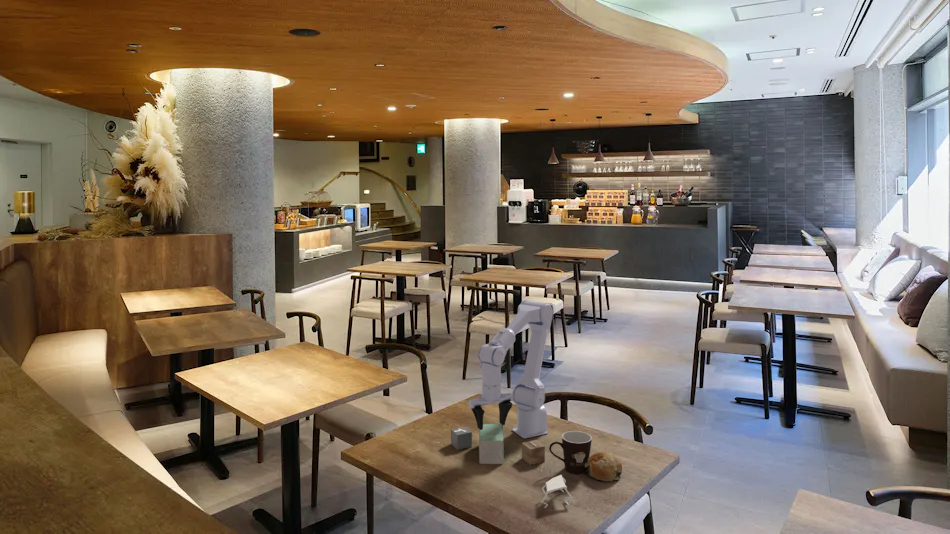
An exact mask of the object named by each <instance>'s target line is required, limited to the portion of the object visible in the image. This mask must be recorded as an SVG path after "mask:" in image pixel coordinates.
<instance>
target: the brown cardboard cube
mask: <svg viewBox="0 0 950 534" xmlns="http://www.w3.org/2000/svg"><path fill="white" fill-rule="evenodd" d="M545 456H546V446H545V444H543V443H541V442H539V440H537V439H533V440H529V441H525V442H521V459H522V460H523V461H524V460H525V461H524V462H525V463H527V464H528V463H529V464H528V465H530V466H532V465H531V464H533V465H537V464H541V463H545V461H546V459H545V458H546V457H545ZM536 463H537V464H536Z"/></svg>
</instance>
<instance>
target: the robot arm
mask: <svg viewBox="0 0 950 534" xmlns="http://www.w3.org/2000/svg"><path fill="white" fill-rule="evenodd" d="M553 314H554V310H553V308H552V306H551V304H550V303H549V302H540V301H535V300H534V301H532V300H528V299H524V300H522V301H521V303H520V304H519V305H518V307H517V313H516V315H515V316H514V317H513V319H512V320H511V322H510V323H509V325H508V326H507V327H506V328H505V327H503V328H500V330H499V331H498V332H497V333H496V334H495V335H494V337H493V338H492V339H491V340H490V341H489V342H488V343H486V344H483V345H481V347H480V348H479V350H478V354H477V360H478V362H479V367H480V368H481V396H479V397H476V398H473V399H470V400H468V407H469V409H470V410H471V411H472V413H473V415H474V418H475V421H476V425H477V428H478V429H479V431H480V430H483V424H484V414H485V410H484V409H483V406H487V405H488V406H489V405H492V404H493V405H498V412H499V413H498V414H499V416H498V418H499V420H498V421H499V424H502V425H503V426H505V424H506V422H507V421H506V420H507V418H508V414H509V412H510V410H511V409H512V407H513V403H514V406H515V407H517V410H516V411H517V412H516V414H517V415H516V420H517V421H516V423H517V424H516V427H514V428H512V429H511V431H513V432H514V433H515V434H517V435H518V436H519V437H521V438H522V439H528V438H534V437H537V436H543V435H546V434H547V435H548V433H549V432H548V431H547V430H548V414H547V413H548V412H547V409H546V407H545V406H544V404H545V400H546V396H545V395H546V394H545V392H546V390H545V389H546V387H545V385H544V383H543V382H542V381H541V380H540V375H541V371H542V364H543V358H544V354H545V348H546V343H547V338H548V332H549V329H551V325H552V322H553V321H552V320H553V317H554V315H553ZM527 325H528V326H529V327H530V329H531V334H530V339H529V345H528V348H527V349H528V350H527V355H526V360H525V364H524V370H523V371H524V372H523V376H522V377H520V378H519V379H517V380H515V386H514V388H513V389H512V391H511V392H508V393H502V392H501V389H502V388H501V387H502V386H501V385H502V384H501V383H502V381H501V380H502V379H501V371H502V370H501V368H502V366H501V365H502V364H503V363H504V361H505V358H506V355H507V352H508V350H509V349H510V348H511V347H512V346H513V345H514V343H515V342H516V335H517V334H518V333H519V332H520V331H522V330H523V328H524V327H525V326H527Z"/></svg>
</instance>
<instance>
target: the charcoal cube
mask: <svg viewBox="0 0 950 534" xmlns="http://www.w3.org/2000/svg"><path fill="white" fill-rule="evenodd" d="M472 434H473V433H472V431H471V430H470V429H469V428H468V427H466V426H461V427H456V428H451V429H450V445H451V446H453V448H454V449H456V450H457V451H459V449H460V450H463V448H465V449H467V448H472V447H473V446H472V445H473V435H472Z"/></svg>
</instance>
